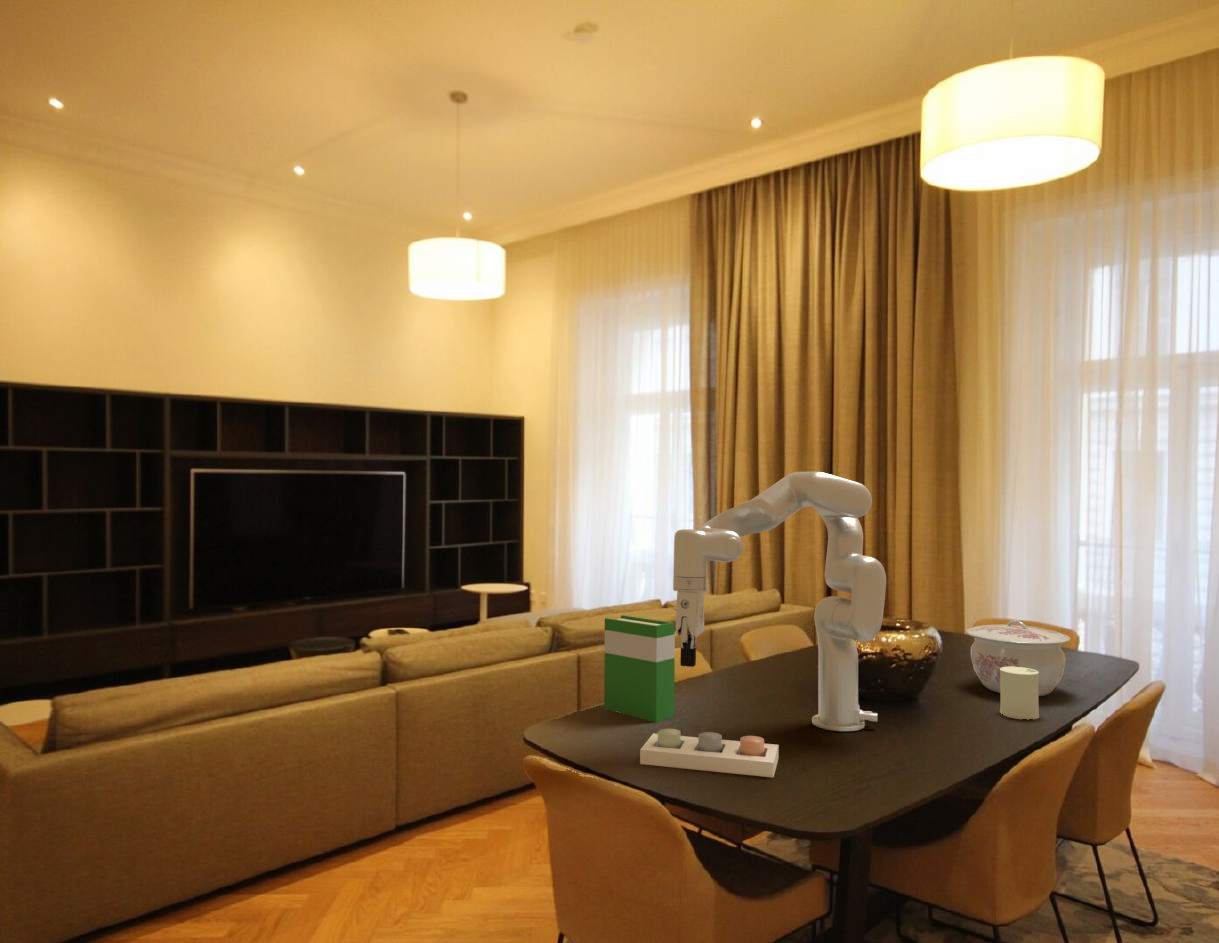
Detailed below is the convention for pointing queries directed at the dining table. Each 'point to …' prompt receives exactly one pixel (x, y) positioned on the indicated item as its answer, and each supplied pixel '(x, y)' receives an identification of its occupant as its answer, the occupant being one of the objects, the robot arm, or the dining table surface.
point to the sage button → (669, 738)
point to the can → (1019, 692)
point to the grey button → (710, 742)
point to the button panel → (710, 757)
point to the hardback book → (640, 667)
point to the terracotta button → (752, 746)
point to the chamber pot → (1017, 653)
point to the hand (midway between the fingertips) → (688, 665)
